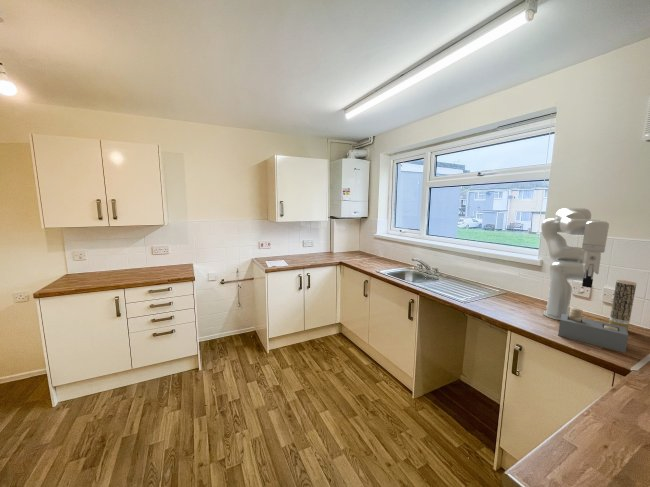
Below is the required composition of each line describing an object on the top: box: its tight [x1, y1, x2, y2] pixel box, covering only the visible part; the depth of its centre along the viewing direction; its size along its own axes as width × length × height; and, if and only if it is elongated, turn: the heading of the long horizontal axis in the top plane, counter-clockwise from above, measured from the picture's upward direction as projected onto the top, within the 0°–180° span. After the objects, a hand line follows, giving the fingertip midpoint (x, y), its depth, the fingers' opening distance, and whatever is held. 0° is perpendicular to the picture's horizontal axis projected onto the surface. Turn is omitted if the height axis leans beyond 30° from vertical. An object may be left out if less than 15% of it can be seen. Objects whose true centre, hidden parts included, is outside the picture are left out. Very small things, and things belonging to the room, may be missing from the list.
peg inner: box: [568, 307, 583, 322], centre depth 130 cm, size 4×4×7 cm
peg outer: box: [604, 326, 618, 331], centre depth 123 cm, size 4×4×7 cm
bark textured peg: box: [608, 279, 637, 332], centre depth 138 cm, size 7×7×25 cm
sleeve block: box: [557, 314, 629, 354], centre depth 127 cm, size 22×11×8 cm, turn 46°
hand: (586, 286), depth 127 cm, fingers closed
